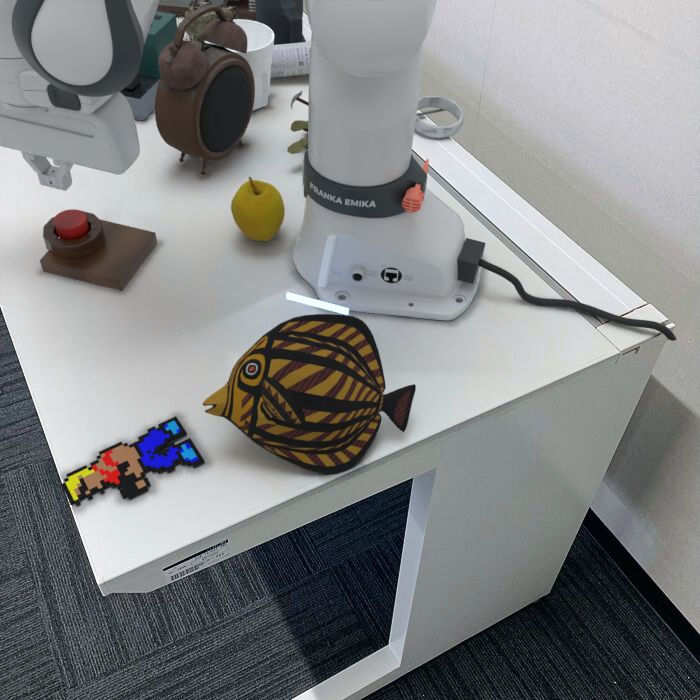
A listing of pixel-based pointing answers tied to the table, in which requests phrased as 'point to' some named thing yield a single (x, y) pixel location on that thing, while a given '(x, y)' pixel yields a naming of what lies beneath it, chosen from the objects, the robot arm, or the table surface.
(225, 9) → the rock
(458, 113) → the ring
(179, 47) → the alarm clock
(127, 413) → the table surface
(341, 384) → the decorative fish sculpture
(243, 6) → the model house
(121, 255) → the block
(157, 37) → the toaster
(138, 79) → the slider
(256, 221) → the apple
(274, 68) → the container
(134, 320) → the table surface
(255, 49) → the cup
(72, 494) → the pixel art figurine
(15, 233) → the table surface
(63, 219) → the button
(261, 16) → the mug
